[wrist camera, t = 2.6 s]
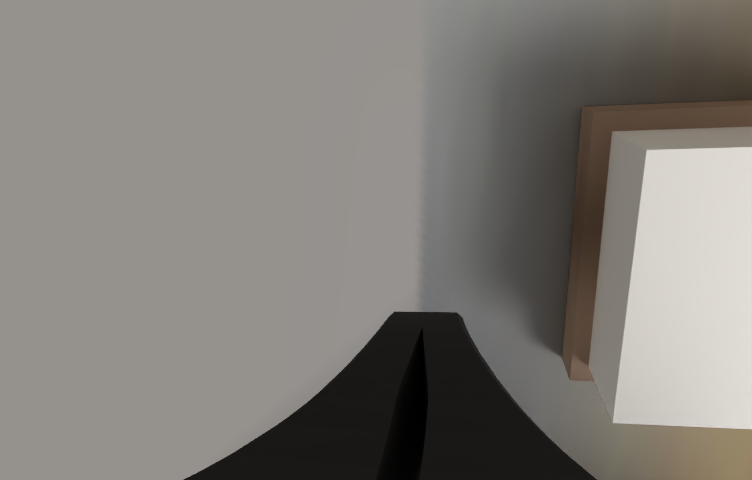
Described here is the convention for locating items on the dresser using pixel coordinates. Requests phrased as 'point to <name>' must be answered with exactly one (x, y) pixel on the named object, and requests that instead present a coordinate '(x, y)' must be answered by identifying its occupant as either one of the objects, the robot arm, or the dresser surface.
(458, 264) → the dresser surface
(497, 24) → the dresser surface
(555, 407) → the dresser surface
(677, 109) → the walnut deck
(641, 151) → the cream tile
